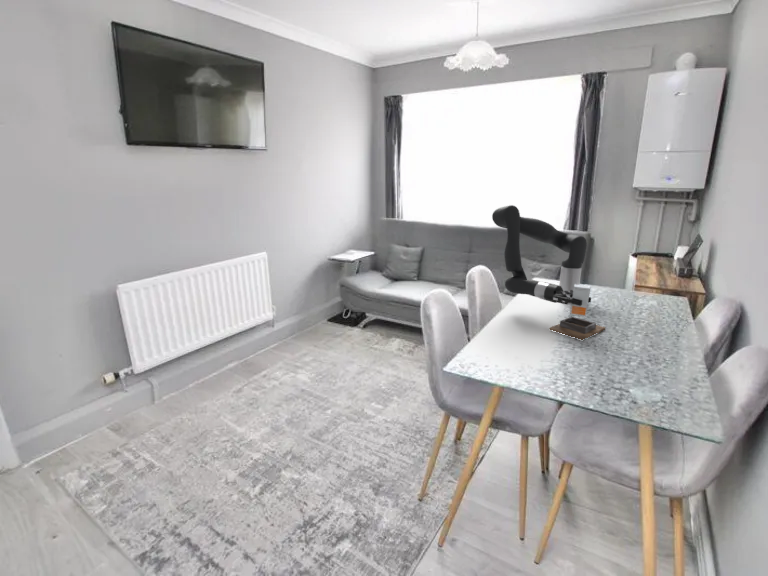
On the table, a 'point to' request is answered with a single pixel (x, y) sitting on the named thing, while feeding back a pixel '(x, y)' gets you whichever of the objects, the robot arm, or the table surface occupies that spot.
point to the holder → (577, 328)
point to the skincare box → (581, 294)
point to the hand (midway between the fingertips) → (586, 301)
